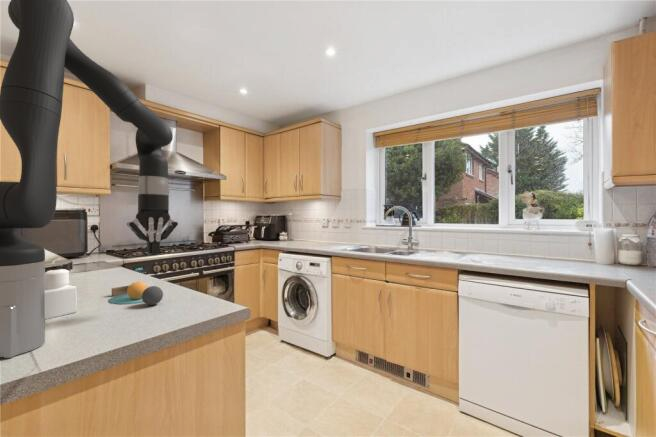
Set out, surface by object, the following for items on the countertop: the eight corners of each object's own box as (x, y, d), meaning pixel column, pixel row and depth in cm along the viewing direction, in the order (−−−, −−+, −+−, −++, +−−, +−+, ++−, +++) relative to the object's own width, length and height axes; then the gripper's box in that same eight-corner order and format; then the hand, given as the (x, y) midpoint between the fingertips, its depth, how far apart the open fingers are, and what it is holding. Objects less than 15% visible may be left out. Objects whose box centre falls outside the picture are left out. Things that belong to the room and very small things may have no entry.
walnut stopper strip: (142, 290, 106) (142, 283, 106) (143, 291, 105) (143, 284, 105) (111, 295, 99) (111, 288, 99) (112, 296, 98) (112, 288, 98)
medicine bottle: (31, 315, 80) (30, 270, 79) (64, 308, 86) (64, 266, 86) (43, 320, 76) (43, 273, 76) (77, 312, 83) (77, 268, 82)
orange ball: (141, 280, 94) (134, 276, 97) (126, 294, 91) (120, 290, 94) (154, 290, 97) (147, 287, 100) (140, 304, 94) (133, 300, 97)
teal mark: (149, 303, 92) (149, 302, 92) (98, 304, 89) (98, 304, 89) (166, 291, 105) (166, 290, 105) (122, 292, 103) (122, 292, 103)
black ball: (153, 279, 92) (150, 294, 94) (138, 288, 87) (136, 303, 89) (168, 287, 91) (165, 301, 93) (154, 296, 86) (151, 311, 88)
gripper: (173, 195, 93) (172, 252, 93) (122, 192, 83) (121, 255, 83) (183, 194, 88) (182, 254, 88) (130, 191, 78) (130, 258, 78)
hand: (153, 255), depth 85 cm, fingers closed
